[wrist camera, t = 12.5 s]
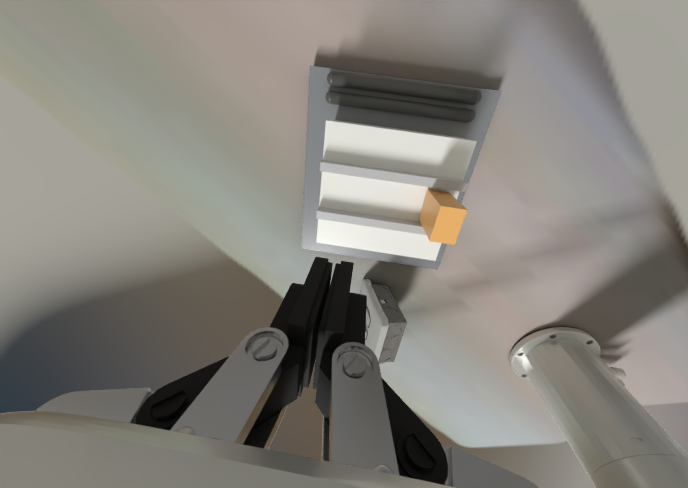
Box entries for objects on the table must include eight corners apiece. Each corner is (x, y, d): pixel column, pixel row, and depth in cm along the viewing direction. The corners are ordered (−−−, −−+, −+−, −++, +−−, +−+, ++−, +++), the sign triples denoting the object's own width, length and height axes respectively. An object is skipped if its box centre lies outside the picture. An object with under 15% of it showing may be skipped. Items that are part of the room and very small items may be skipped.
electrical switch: (363, 275, 37) (368, 321, 29) (396, 279, 38) (411, 325, 29) (354, 320, 42) (356, 371, 34) (384, 323, 42) (393, 374, 34)
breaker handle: (448, 192, 23) (467, 209, 18) (439, 221, 24) (454, 245, 20) (427, 188, 23) (440, 205, 18) (418, 218, 24) (429, 241, 20)
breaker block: (494, 92, 25) (548, 81, 18) (435, 263, 35) (452, 304, 27) (313, 68, 26) (288, 47, 18) (304, 243, 36) (285, 278, 28)
